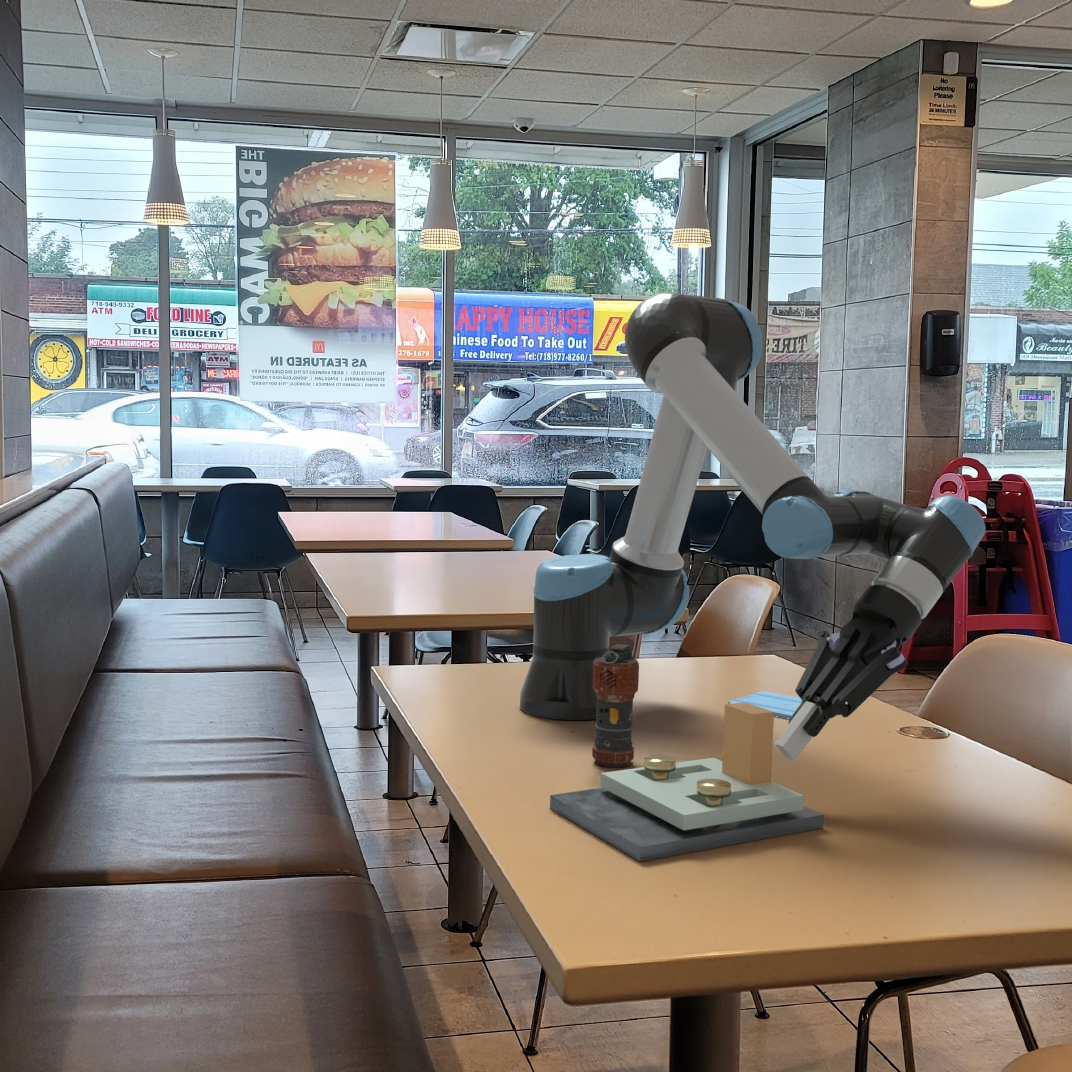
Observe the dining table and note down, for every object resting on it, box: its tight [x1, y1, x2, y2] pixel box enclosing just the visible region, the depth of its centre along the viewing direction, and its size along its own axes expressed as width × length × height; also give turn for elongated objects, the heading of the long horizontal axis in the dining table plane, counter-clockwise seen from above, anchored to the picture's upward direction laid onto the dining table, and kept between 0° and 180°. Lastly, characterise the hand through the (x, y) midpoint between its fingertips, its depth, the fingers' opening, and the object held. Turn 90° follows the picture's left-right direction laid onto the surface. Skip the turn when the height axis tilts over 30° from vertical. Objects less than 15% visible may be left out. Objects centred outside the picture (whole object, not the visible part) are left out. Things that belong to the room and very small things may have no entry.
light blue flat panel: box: [727, 690, 802, 720], centre depth 182 cm, size 14×12×1 cm
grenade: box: [591, 643, 640, 768], centre depth 149 cm, size 6×8×15 cm
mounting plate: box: [549, 754, 824, 863], centre depth 127 cm, size 18×24×5 cm
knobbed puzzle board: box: [600, 702, 805, 830], centre depth 128 cm, size 16×16×10 cm
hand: (784, 752), depth 134 cm, fingers closed
